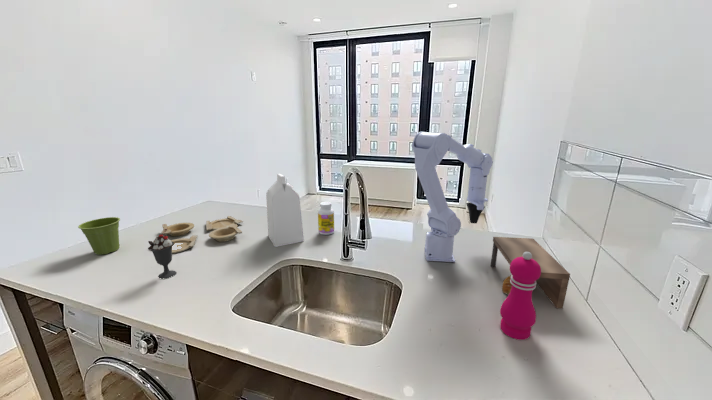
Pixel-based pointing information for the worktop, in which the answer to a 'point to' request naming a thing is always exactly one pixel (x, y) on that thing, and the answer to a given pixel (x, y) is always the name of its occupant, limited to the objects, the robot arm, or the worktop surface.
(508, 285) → the pastry
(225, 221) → the tableware set
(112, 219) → the plant pot
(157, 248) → the sundae
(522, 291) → the pepper mill
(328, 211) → the supplement bottle
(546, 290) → the walnut shelf
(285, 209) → the milk
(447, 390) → the worktop surface
